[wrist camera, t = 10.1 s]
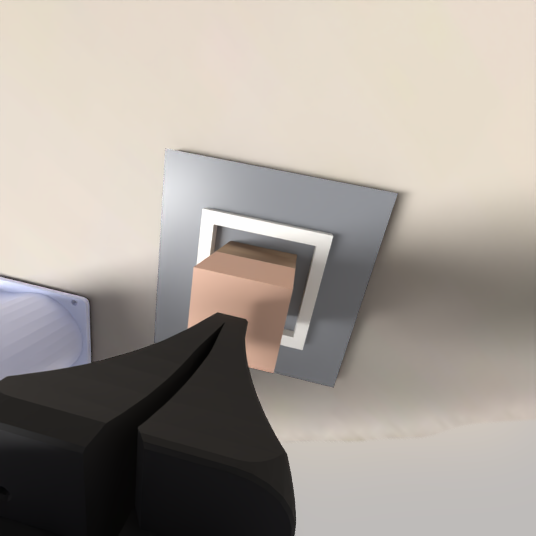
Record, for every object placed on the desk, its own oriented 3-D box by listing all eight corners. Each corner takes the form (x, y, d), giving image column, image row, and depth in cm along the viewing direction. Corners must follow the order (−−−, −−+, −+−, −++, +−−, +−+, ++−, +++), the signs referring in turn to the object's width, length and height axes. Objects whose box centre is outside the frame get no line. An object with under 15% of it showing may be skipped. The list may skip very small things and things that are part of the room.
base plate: (160, 335, 21) (148, 348, 20) (173, 150, 17) (158, 146, 15) (332, 378, 20) (334, 395, 19) (392, 193, 16) (402, 193, 14)
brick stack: (222, 301, 18) (185, 351, 13) (230, 240, 17) (193, 267, 11) (283, 315, 18) (273, 373, 12) (296, 254, 17) (293, 289, 11)
